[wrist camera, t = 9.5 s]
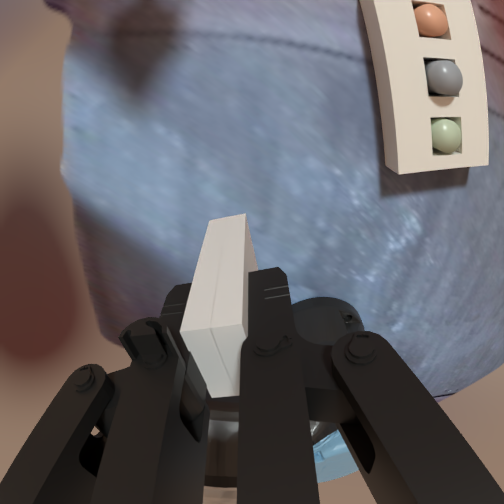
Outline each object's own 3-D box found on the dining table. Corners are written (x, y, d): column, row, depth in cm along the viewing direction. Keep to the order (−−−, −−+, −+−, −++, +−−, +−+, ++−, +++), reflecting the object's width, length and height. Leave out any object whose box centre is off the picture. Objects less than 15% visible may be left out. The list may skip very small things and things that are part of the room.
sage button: (444, 145, 34) (461, 152, 30) (419, 147, 34) (435, 154, 31) (443, 115, 32) (460, 119, 28) (417, 116, 32) (433, 120, 29)
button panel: (471, 157, 34) (488, 165, 31) (385, 165, 36) (398, 174, 32) (452, 2, 24) (469, -2, 21) (357, -8, 25) (369, -17, 22)
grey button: (446, 93, 29) (464, 95, 26) (419, 92, 30) (437, 94, 26) (442, 62, 27) (460, 61, 24) (415, 60, 28) (432, 59, 24)
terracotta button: (433, 39, 27) (450, 37, 24) (406, 38, 27) (422, 34, 24) (427, 11, 25) (443, 6, 22) (399, 8, 26) (414, 2, 22)
